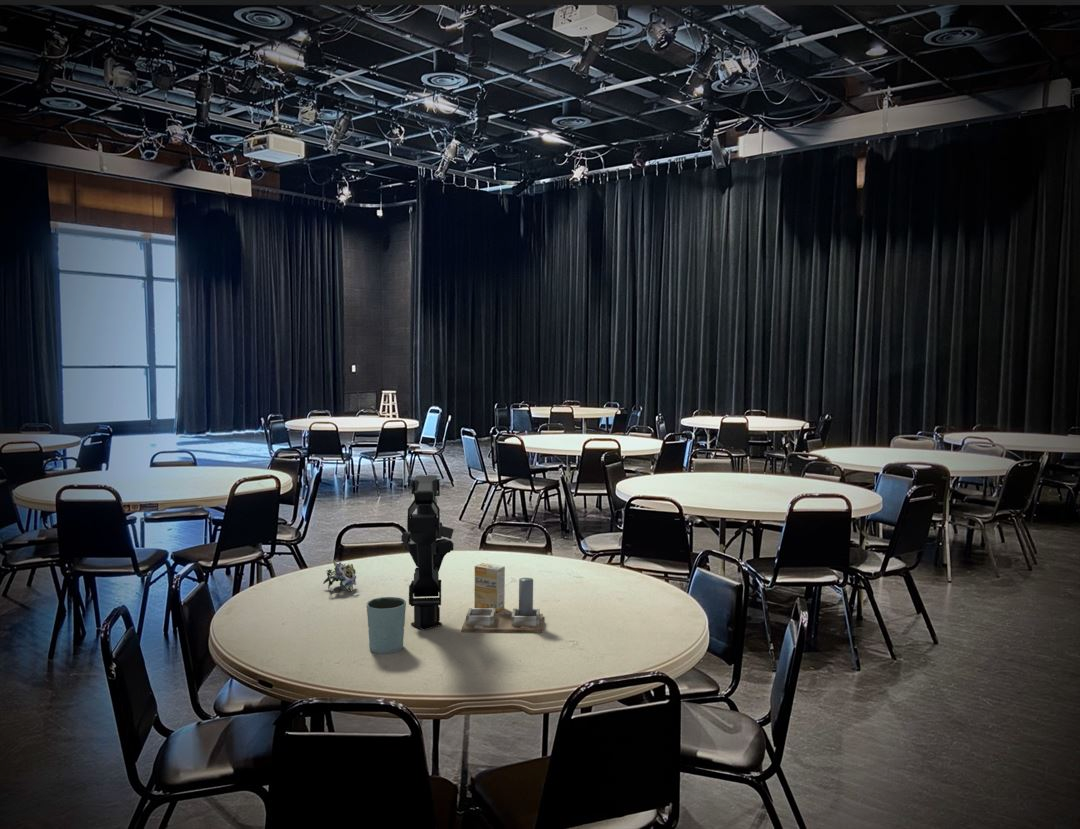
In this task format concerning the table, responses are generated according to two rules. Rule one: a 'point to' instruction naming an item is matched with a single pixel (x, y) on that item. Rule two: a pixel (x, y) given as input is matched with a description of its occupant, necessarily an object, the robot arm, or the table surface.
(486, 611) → the socket board
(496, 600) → the supplement box
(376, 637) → the light blue cup
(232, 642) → the table surface
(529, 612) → the plug
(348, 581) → the passion flower
